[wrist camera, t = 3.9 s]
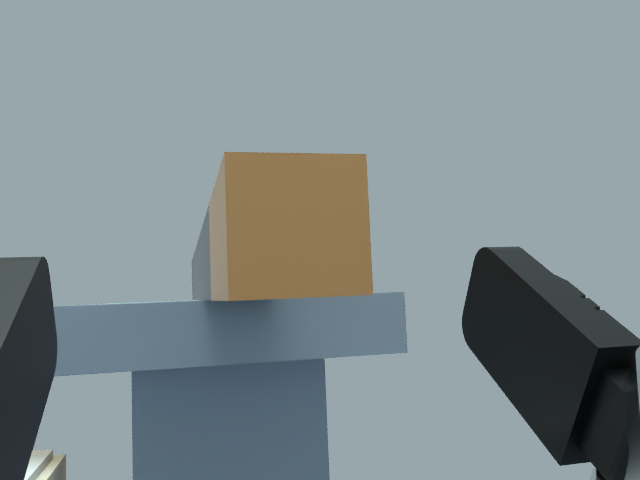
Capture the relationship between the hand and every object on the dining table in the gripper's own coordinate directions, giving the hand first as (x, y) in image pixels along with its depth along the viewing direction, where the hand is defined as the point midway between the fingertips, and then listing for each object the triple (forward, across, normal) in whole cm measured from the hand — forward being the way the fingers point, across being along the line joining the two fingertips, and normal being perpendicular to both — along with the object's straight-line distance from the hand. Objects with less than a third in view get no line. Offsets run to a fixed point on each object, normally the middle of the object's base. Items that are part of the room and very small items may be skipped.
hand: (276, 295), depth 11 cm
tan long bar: (+9, 0, +5) cm, 11 cm away
